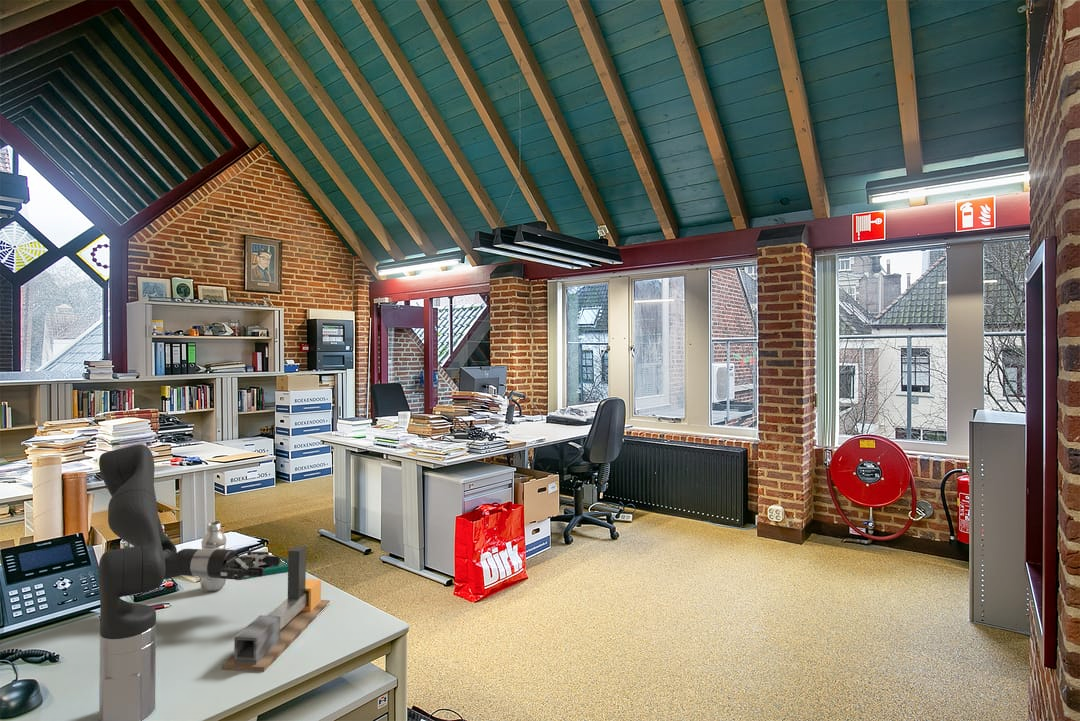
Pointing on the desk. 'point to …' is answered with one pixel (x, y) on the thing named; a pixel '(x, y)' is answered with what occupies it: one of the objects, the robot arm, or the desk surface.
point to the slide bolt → (294, 587)
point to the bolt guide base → (267, 640)
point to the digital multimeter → (273, 568)
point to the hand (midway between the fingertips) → (271, 566)
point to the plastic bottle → (213, 541)
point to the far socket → (313, 593)
